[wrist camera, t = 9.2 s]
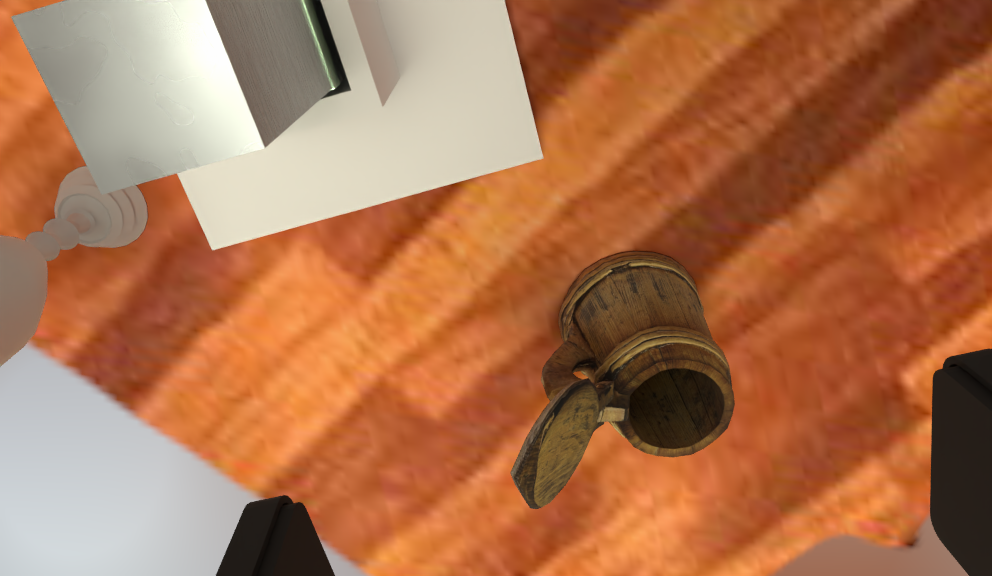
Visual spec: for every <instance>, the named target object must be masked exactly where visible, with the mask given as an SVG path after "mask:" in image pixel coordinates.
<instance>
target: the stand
mask: <svg viewBox="0 0 992 576" xmlns="http://www.w3.org/2000/svg"><path fill="white" fill-rule="evenodd" d="M321 3H322V6H323V9H324V12H325V15H326V18H327V21H328V24H329V26H330V29H331V32H332V35H333V38H334V41H335V44H336V47H337V50H338V53H339V56H340V59H341V62H342V64H343V67H344V70H345V73H346V77H345V78H344V79H343V80H342V81H341V82H340V85H339V86H338V87H337V88H335V89H333V90H330V91H329V92H328V93H327V94H326V95H325V96H324V97H323V98H321V99H320V100H319V101H318V102H317V103H316V104H315V105H313V106H312V107H311V108H310V109H309V110H308V111H307V112H305V113H304V114H303V115H302V116H301V117H300V118H299V119H298V120H296V121H295V122H294V123H293V124H292V125H291V126H290V127H288V128H287V129H286V130H285V131H284V132H283V133H282V134H280V135H279V136H278V137H277V138H276V139H275V140H274V141H273V142H271V143H270V144H269V145H268V146H267V147H266V148H264V149H260V150H257V151H253V152H250V153H246V154H243V155H239V156H236V157H232V158H229V159H225V160H222V161H218V162H215V163H211V164H208V165H204V166H201V167H197V168H194V169H190V170H187V171H183V172H180V173H177V174H178V177H179V179H180V181H181V183H182V185H183V187H184V190H185V192H186V194H187V196H188V198H189V201H190V203H191V205H192V207H193V209H194V211H195V214H196V216H197V218H198V220H199V222H200V225H201V227H202V229H203V231H204V233H205V235H206V238H207V240H208V242H209V244H210V246H211V248H212V250H215V249H219V248H222V247H226V246H230V245H233V244H237V243H240V242H244V241H248V240H251V239H255V238H258V237H262V236H266V235H269V234H273V233H276V232H280V231H284V230H287V229H291V228H294V227H298V226H302V225H305V224H309V223H312V222H316V221H320V220H323V219H327V218H330V217H334V216H338V215H341V214H345V213H348V212H352V211H356V210H359V209H363V208H367V207H370V206H374V205H377V204H381V203H385V202H388V201H392V200H395V199H399V198H403V197H406V196H410V195H413V194H417V193H421V192H424V191H428V190H431V189H435V188H439V187H442V186H446V185H449V184H453V183H457V182H460V181H464V180H467V179H471V178H475V177H478V176H482V175H485V174H489V173H493V172H496V171H500V170H503V169H507V168H511V167H514V166H518V165H522V164H525V163H529V162H532V161H536V160H540V159H543V154H542V150H541V146H540V142H539V138H538V134H537V130H536V126H535V122H534V118H533V114H532V110H531V106H530V102H529V98H528V94H527V90H526V85H525V81H524V77H523V73H522V69H521V65H520V61H519V57H518V53H517V49H516V45H515V41H514V37H513V33H512V29H511V25H510V21H509V16H508V12H507V8H506V4H505V0H321Z"/></svg>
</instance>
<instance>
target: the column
mask: <svg viewBox="0 0 992 576" xmlns="http://www.w3.org/2000/svg"><path fill="white" fill-rule="evenodd" d="M11 18H12V20H13V22H14V24H15V26H16V27H17V29H18V31H19V33H20V35H21V37H22V39H23V41H24V43H25V45H26V47H27V49H28V51H29V53H30V55H31V57H32V59H33V61H34V63H35V65H36V67H37V69H38V71H39V73H40V75H41V77H42V79H43V81H44V83H45V85H46V87H47V88H48V90H49V92H50V94H51V96H52V98H53V100H54V102H55V104H56V106H57V108H58V110H59V112H60V114H61V116H62V118H63V120H64V122H65V124H66V126H67V128H68V130H69V132H70V134H71V136H72V138H73V140H74V142H75V144H76V146H77V147H78V149H79V151H80V153H81V155H82V157H83V159H84V161H85V163H86V165H87V167H88V169H89V171H90V173H91V175H92V177H93V179H94V181H95V183H96V185H97V187H98V189H99V191H100V193H101V195H103V194H106V193H110V192H113V191H117V190H120V189H124V188H127V187H131V186H134V185H138V184H141V183H145V182H148V181H152V180H155V179H159V178H162V177H166V176H169V175H173V174H176V173H180V172H183V171H187V170H190V169H194V168H197V167H201V166H204V165H208V164H211V163H215V162H218V161H222V160H225V159H229V158H232V157H236V156H239V155H243V154H246V153H250V152H253V151H257V150H260V149H264V148H266V147H267V146H268V145H269V144H270V143H271V142H273V141H274V140H275V139H276V138H277V137H278V136H279V135H280V134H282V133H283V132H284V131H285V130H286V129H287V128H288V127H290V126H291V125H292V124H293V123H294V122H295V121H296V120H298V119H299V118H300V117H301V116H302V115H303V114H304V113H305V112H307V111H308V110H309V109H310V108H311V107H312V106H313V105H315V104H316V103H317V102H318V101H319V100H320V99H321V98H323V97H324V96H325V95H326V94H327V93H328V92H329V91H330V90H333V89H335V88H337V87H338V86H339V85H340V82H341V81H342V80H343V79H344V78H345V77H346V73H345V70H344V67H343V64H342V62H341V59H340V56H339V53H338V50H337V47H336V44H335V41H334V38H333V35H332V32H331V29H330V26H329V24H328V21H327V18H326V15H325V12H324V9H323V6H322V3H321V0H65V1H62V2H58V3H55V4H52V5H48V6H45V7H42V8H39V9H35V10H32V11H29V12H25V13H22V14H19V15H15V16H12V17H11Z"/></svg>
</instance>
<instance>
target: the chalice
mask: <svg viewBox="0 0 992 576" xmlns="http://www.w3.org/2000/svg"><path fill="white" fill-rule="evenodd" d="M54 211H55V219H51V220H49V221H47V222H46V224H45V225H44V228H43V232H39V231H37V232H32V233H31V234H29V235H28V236H27V237H26V240H22V239H19V238H16V237H10V236H3V235H0V366H2V365H3V364H4V363H5V362H6V361H8V359H10V358H11V357H12V356H13V355H15V354H16V353H17V352H18V351H19V350H21V349H22V348H23V347H24V346H25V345H26V343H27V342H28V341H29V340H30V339H31V338H32V336H33V335H34V334H35V332H36V329H37V326H38V323H39V321H40V318H41V315H42V312H43V309H44V305H45V301H46V297H47V279H48V269H47V263H46V261H50V260H53V259H55V258H56V257H57V256H58V255H59V252H60V249H64V250H67V249H72V248H74V247H75V246H76V245H77V244H78V243H80V244H82V245H85V246H90V247H110V248H115V247H120V246H125V245H128V244H129V243H131V242H133V241H134V240H136V239H137V238H138V237H139V236H140V235H141V233H142V232H143V231H144V229H145V226H146V222H147V219H148V214H147V204H146V202H145V200H144V197H143V195H142V192H141V191H140V190H139V189H138V187H137V186H136V185H134V186H131V187H127V188H124V189H120V190H117V191H113V192H110V193H106V194H103V195H101V193H100V191H99V189H98V187H97V185H96V183H95V181H94V179H93V177H92V175H91V173H90V171H89V169H88V167H87V166H84V167H79V168H77V169H75V170H74V171H72V172H70V173H69V174H67V176H66V177H65V178H64V180H63V181H62V183H61V184H60V187H59V191H58V195H57V199H56V203H55V207H54Z"/></svg>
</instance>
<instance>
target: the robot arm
mask: <svg viewBox="0 0 992 576" xmlns="http://www.w3.org/2000/svg"><path fill="white" fill-rule="evenodd" d="M930 516H931V521H932V525H933V527H934V530H935V532H936V534H937V536H938V537H939V539H940V540H941V542H942V543H943V544H944V546H945V547H946V548H947V549H948V550H949V552H950V553H951V554H952V555H953V557H954V558H955V559H956V560H957V561H958V563H959V564H960V565H961V566H962V567H963V569H964V570H965V571H966V572H967V574H968V575H969V576H992V349H985V350H980V351H975V352H970V353H965V354H961V355H956V356H951V357H949V358H947V359H946V360H945V362H944V364H943V369H939V370H937V371H935V373H934V375H933V394H932V445H931V496H930ZM216 576H335V575H334V572H333V570H332V568H331V565H330V563H329V561H328V559H327V556H326V554H325V551H324V549H323V547H322V544H321V542H320V540H319V537H318V535H317V533H316V531H315V528H314V526H313V524H312V521H311V519H310V517H309V514H308V512H307V510H306V508H305V506H304V505H303V504H302V503H300V502H298V503H293V501H292V500H291V499H290V498H289V497H288V496H285V495H283V496H278V497H274V498H269V499H264V500H259V501H255V502H250V503H249V504H247V505H246V507H245V508H244V510H243V513H242V515H241V517H240V520H239V522H238V524H237V527H236V529H235V532H234V534H233V536H232V539H231V541H230V543H229V546H228V548H227V550H226V553H225V555H224V557H223V560H222V562H221V565H220V567H219V569H218V572H217V574H216Z"/></svg>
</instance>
